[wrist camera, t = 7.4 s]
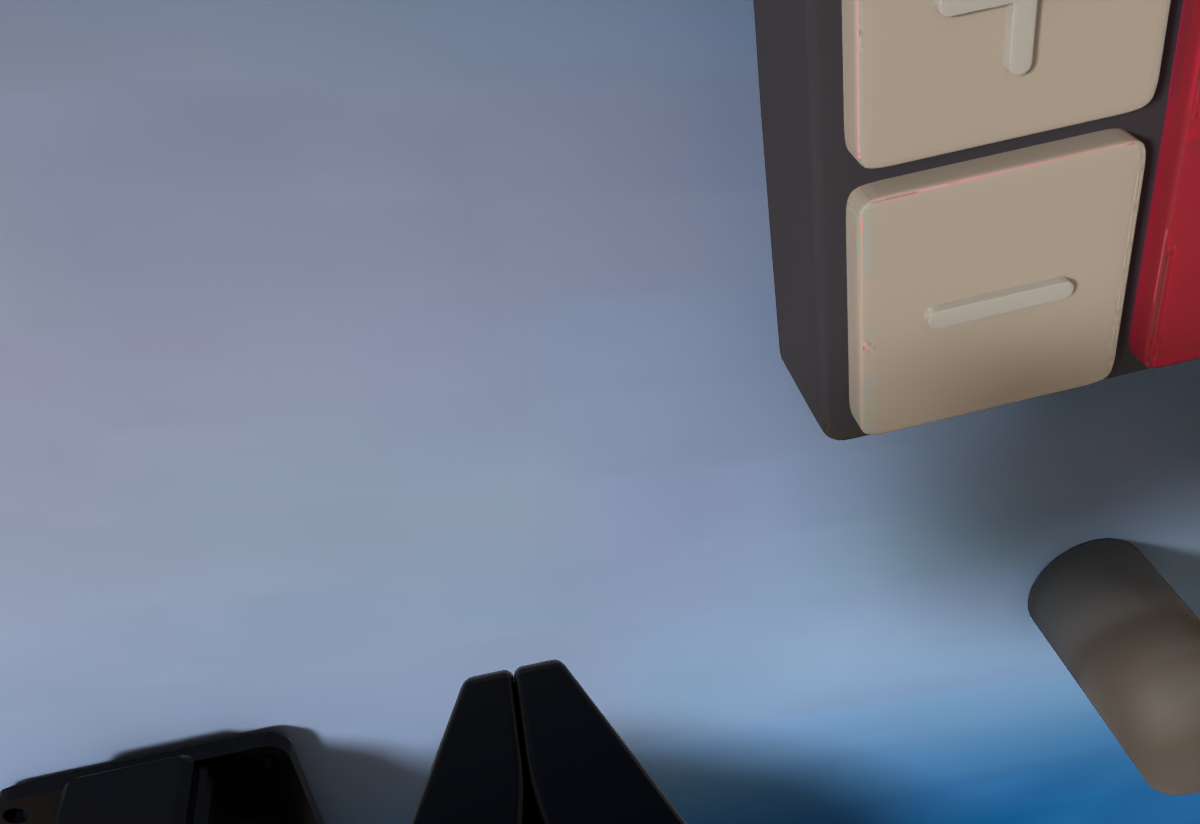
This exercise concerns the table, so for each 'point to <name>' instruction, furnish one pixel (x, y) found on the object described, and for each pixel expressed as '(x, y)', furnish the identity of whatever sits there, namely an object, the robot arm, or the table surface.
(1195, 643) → the seat bracket
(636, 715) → the table surface
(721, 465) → the table surface
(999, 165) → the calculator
